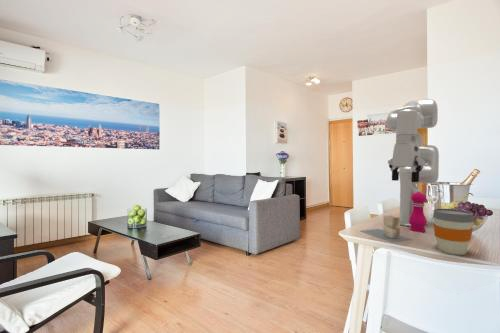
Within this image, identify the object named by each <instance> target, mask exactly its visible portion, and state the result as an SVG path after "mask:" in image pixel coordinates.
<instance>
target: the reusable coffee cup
mask: <svg viewBox="0 0 500 333" xmlns="http://www.w3.org/2000/svg"><path fill="white" fill-rule="evenodd" d="M432 217H433V220H434V221H433V222H434V223H433V231H434V237H435V239H436V247H437V249H438V250H440V251H441V252H442V253H445V254H449V255H460V256H461V255H466V254H467V251H468V246H469V242H470V241H471V238H472V233H473V228H472V226H473V222H474V219H475V218H474V212H471V211H468V210H463V209H462V210H461V209H456V208H435V209H433V215H432Z"/></svg>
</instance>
